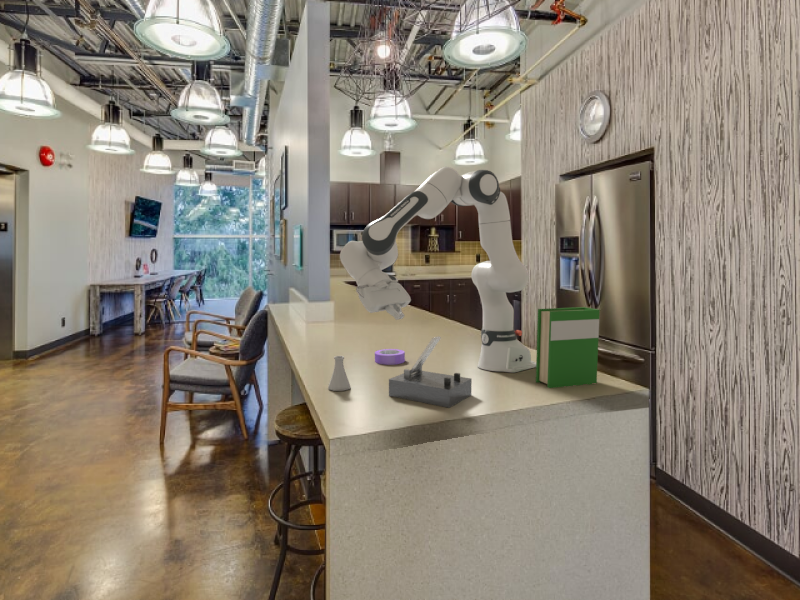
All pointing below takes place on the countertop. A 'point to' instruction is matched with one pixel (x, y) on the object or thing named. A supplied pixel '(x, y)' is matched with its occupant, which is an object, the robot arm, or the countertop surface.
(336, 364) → the flask
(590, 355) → the hardback book
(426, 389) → the lever switch box
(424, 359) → the switch lever
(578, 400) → the countertop surface
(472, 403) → the countertop surface
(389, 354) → the masking tape
